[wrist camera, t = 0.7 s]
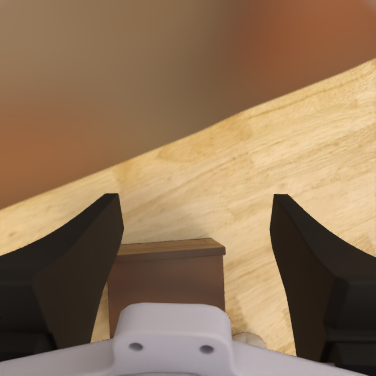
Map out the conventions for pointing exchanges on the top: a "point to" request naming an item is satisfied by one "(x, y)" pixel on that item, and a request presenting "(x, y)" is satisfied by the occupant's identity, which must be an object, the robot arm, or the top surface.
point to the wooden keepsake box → (166, 275)
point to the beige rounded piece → (250, 339)
